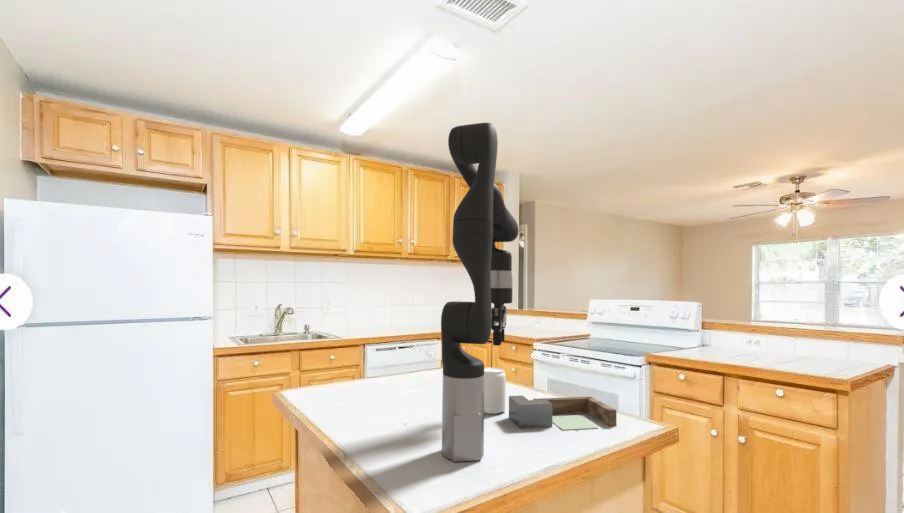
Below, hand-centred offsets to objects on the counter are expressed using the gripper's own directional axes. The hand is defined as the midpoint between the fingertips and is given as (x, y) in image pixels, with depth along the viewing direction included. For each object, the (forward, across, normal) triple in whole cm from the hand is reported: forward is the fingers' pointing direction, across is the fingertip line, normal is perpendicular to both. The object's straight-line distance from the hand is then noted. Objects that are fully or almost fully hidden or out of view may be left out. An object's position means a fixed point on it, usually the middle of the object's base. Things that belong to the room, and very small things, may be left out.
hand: (498, 343), depth 127 cm
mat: (+20, -2, -20) cm, 28 cm away
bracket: (+20, -4, -9) cm, 23 cm away
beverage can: (+20, +4, +2) cm, 21 cm away
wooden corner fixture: (+20, +2, -21) cm, 29 cm away
